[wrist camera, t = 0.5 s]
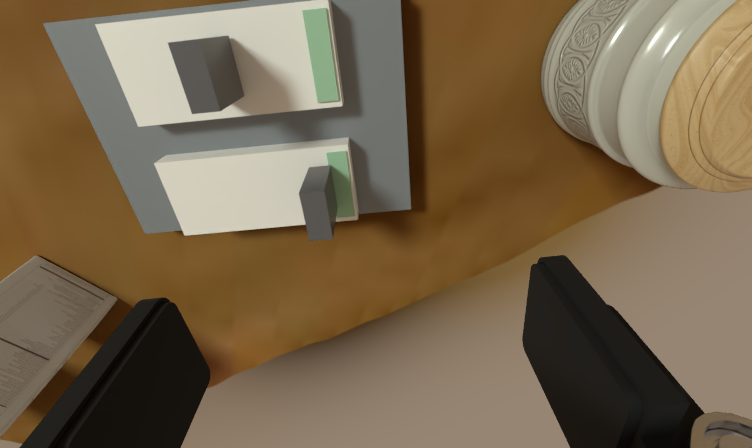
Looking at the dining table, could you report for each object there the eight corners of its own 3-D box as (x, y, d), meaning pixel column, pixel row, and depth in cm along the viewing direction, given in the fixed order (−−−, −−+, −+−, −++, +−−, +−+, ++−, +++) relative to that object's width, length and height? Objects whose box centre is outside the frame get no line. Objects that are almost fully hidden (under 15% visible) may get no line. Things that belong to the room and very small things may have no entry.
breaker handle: (308, 167, 30) (298, 193, 25) (330, 165, 29) (324, 190, 25) (317, 210, 32) (309, 240, 27) (337, 208, 31) (332, 238, 27)
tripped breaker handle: (202, 38, 25) (167, 42, 20) (228, 35, 25) (198, 39, 20) (220, 98, 27) (192, 114, 22) (244, 96, 27) (220, 111, 22)
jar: (624, -73, 26) (992, -203, 11) (730, 31, 29) (1120, 46, 14) (505, 89, 31) (635, 158, 16) (606, 161, 35) (792, 273, 20)
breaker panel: (67, 23, 28) (17, 23, 24) (397, -14, 27) (402, -19, 23) (158, 221, 37) (132, 246, 33) (408, 197, 36) (413, 220, 32)
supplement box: (6, 299, 42) (-188, 449, 27) (35, 251, 39) (-165, 393, 24) (88, 338, 45) (-45, 490, 31) (121, 298, 42) (-9, 446, 28)
